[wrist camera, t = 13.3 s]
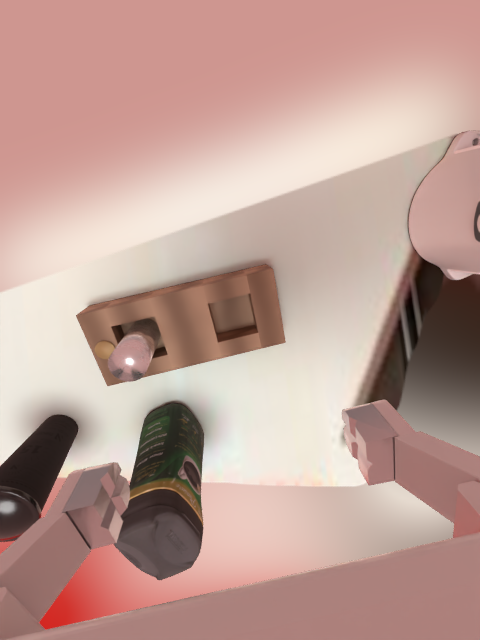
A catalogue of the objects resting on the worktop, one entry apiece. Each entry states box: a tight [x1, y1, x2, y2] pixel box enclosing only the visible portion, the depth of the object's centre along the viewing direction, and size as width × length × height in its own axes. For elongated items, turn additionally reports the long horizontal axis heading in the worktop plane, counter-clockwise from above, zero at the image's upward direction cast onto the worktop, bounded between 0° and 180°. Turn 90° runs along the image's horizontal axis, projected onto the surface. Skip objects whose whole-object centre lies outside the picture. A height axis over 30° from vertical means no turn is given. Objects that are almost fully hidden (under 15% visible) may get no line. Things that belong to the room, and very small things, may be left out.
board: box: [76, 264, 285, 386], centre depth 37 cm, size 24×10×4 cm, turn 102°
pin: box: [108, 318, 161, 381], centre depth 34 cm, size 4×4×9 cm
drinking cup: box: [0, 415, 78, 542], centre depth 33 cm, size 8×8×20 cm
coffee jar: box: [114, 404, 204, 580], centre depth 36 cm, size 10×8×19 cm
